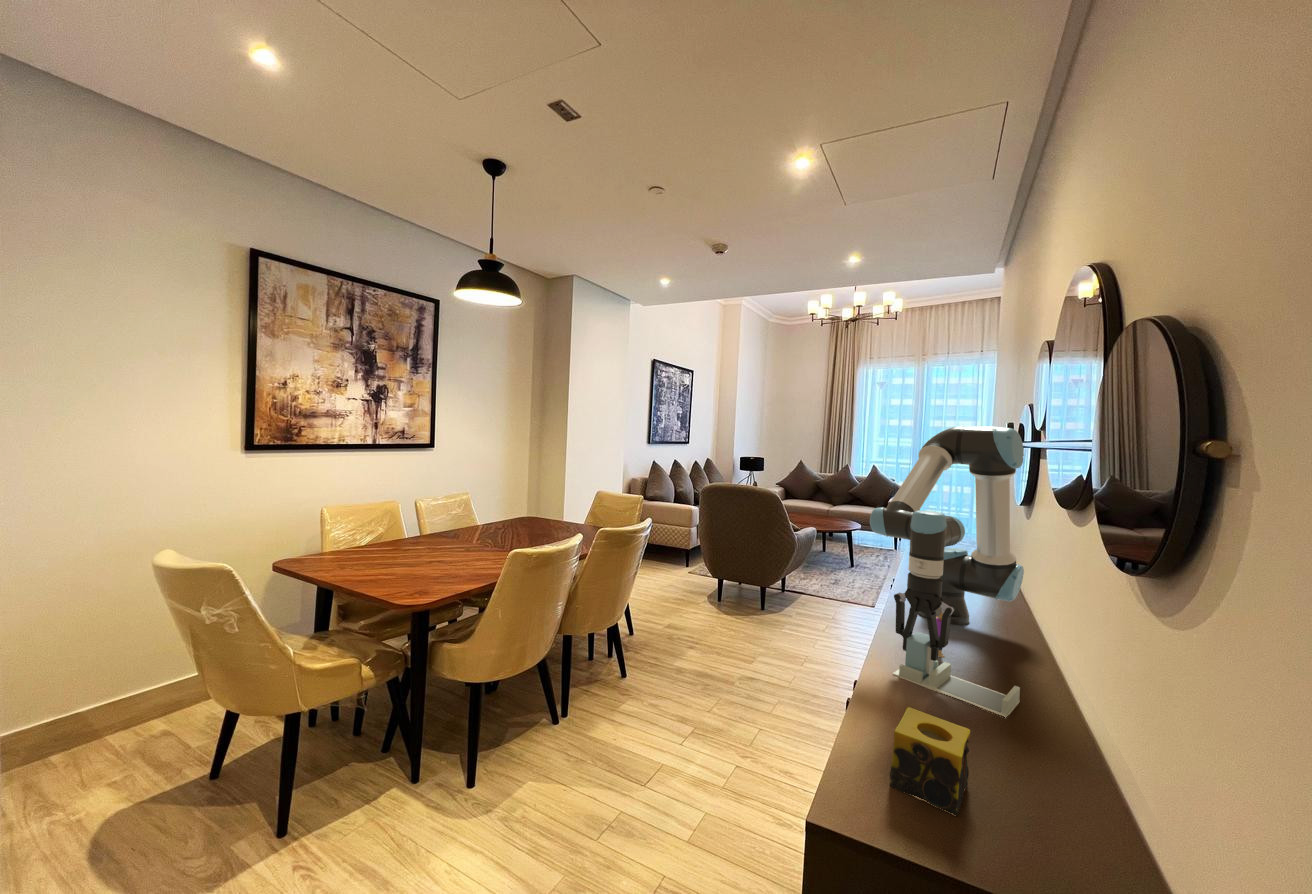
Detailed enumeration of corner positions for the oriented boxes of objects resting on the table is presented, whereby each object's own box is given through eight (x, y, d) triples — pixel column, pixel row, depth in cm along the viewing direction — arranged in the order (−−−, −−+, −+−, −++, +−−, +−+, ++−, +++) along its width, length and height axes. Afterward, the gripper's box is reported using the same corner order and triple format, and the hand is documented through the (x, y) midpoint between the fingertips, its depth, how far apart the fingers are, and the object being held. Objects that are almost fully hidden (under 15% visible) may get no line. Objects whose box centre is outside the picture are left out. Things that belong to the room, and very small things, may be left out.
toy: (953, 665, 131) (956, 608, 130) (930, 662, 132) (933, 605, 131) (938, 648, 141) (942, 595, 140) (917, 646, 142) (921, 593, 142)
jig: (910, 663, 130) (911, 649, 130) (1019, 702, 113) (1020, 686, 113) (892, 675, 123) (893, 661, 123) (1006, 719, 106) (1007, 702, 105)
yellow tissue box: (903, 759, 91) (906, 705, 90) (968, 786, 84) (972, 728, 84) (887, 788, 83) (891, 729, 82) (958, 821, 76) (962, 756, 76)
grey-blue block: (915, 662, 128) (918, 631, 127) (932, 668, 125) (935, 637, 124) (904, 670, 123) (906, 638, 123) (922, 677, 120) (924, 644, 120)
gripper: (883, 568, 127) (877, 659, 128) (958, 585, 114) (951, 687, 115) (896, 564, 132) (890, 652, 133) (969, 580, 119) (962, 677, 120)
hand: (919, 668), depth 124 cm, fingers closed on grey-blue block, 4 cm apart
